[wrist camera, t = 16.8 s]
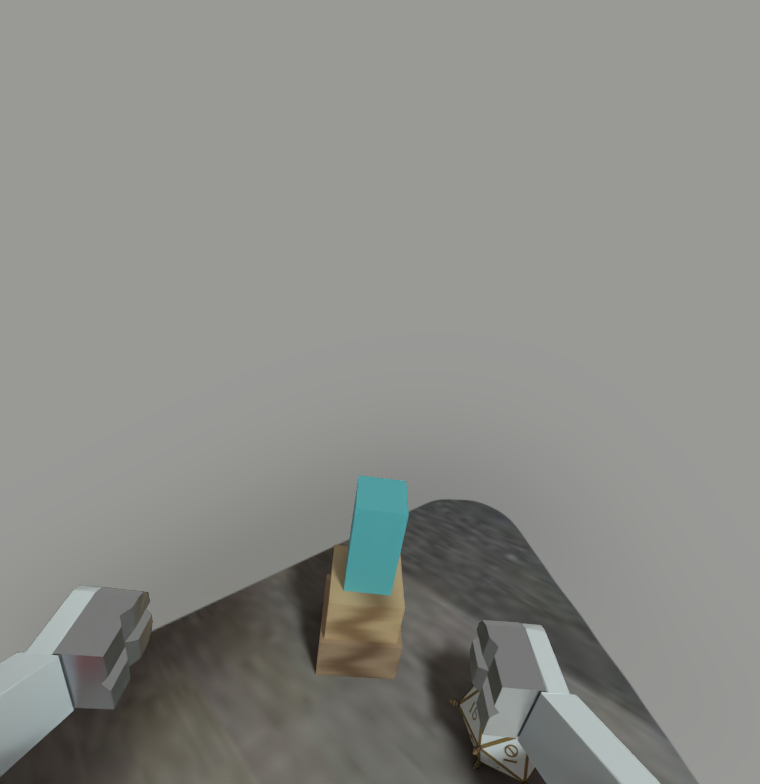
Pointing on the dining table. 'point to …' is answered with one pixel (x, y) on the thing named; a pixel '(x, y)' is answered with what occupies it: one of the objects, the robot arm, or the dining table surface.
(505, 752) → the game die
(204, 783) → the dining table surface
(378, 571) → the teal pillar
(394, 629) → the oak top block
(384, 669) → the walnut base block
